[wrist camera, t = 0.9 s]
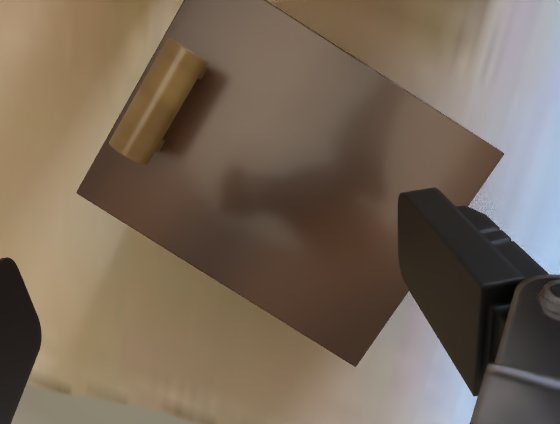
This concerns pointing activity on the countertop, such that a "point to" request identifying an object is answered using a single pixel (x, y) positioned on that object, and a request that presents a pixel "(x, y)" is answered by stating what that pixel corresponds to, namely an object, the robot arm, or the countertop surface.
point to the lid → (280, 167)
